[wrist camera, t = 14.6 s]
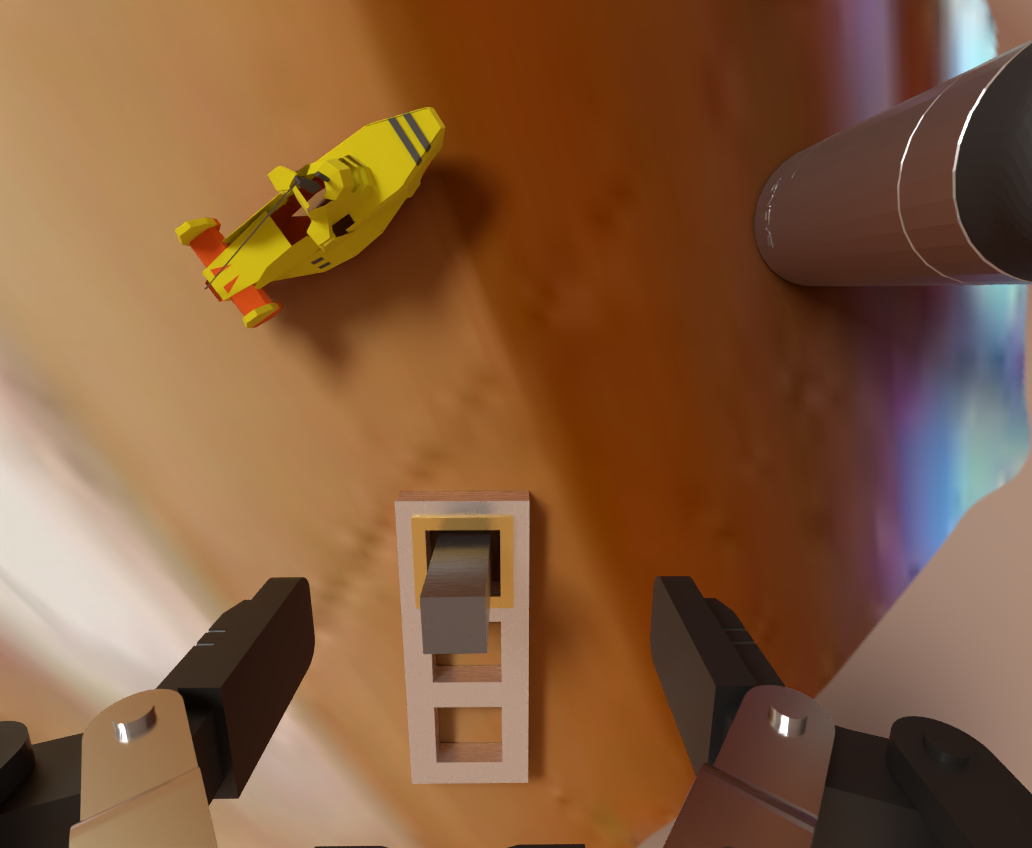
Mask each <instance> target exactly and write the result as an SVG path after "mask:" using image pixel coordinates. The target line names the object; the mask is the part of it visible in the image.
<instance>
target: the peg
mask: <svg viewBox="0 0 1032 848" xmlns="http://www.w3.org/2000/svg"><path fill="white" fill-rule="evenodd" d="M491 585H492V536H491V530H440V531H439V535H438V538H437V541H436V545H435V548H434V551H433V555H432V558H431V561H430V565H429V568H428V571H427V575H426V578H425V581H424V585H423V588H422V591H421V595H420V611H421V626H422V642H423V654H466V653H487V644H488V629H489V615H490V600H491Z"/></svg>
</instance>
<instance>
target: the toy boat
mask: <svg viewBox="0 0 1032 848" xmlns="http://www.w3.org/2000/svg"><path fill="white" fill-rule="evenodd" d="M444 134H445V126H444V124H443V123H442V121H441V119H440V118H439V116H438V115H437V113H436V111H435V110H434V108H430V107H425V108H422V109H418V110H415V111H412V112H407V113H403V114H401V115H398V116H393V117H389V118H387V119H384V120H381V121H377V122H374V123H370V124H367V125H366V126H364V127H363V128H361V129H360V130H359V131H357V132H356V133H355V134H353V135H352V136H350V137H349V138H348V139H346V140H345V141H343V142H342V143H341V144H339V145H338V146H337V147H335V148H334V149H332V150H331V151H330V152H328V153H327V154H326V155H324V156H323V157H321V158H320V159H319V160H317V161H316V162H315V163H313V164H308V165H305V166H304V167H303V168H301V169H300V170H298V171H296V172H294V171H292V170H290V169H288V168H286V167H284V166H278V167H277V168H275V169H274V170H273V171H271V172H270V173H269V174H267V175H268V176H269V178H270V180H271V182H272V183H273V185H274V187H275V188H276V190H277V191H279V192H280V193H279V194H278V195H277V196H276V197H274V198H273V199H272V200H271V201H270V202H268V203H267V204H266V205H265V206H264V207H262V208H261V209H260V210H259V211H258V212H256V213H255V214H254V215H253V216H252V217H250V218H249V219H248V220H247V221H246V222H244V223H243V224H242V225H241V226H240V227H239V228H237V229H236V230H235V231H234V232H233V233H231V234H230V235H229V236H228V237H227V238H224V237H223V235H222V234H221V233H220V232H219V229H220V226H221V224H220V223H219V222H218V220H217V219H212V218H200V219H195V220H190V221H186V222H185V223H184V224H182V225H181V226H180V227H179V228H177V229H176V230H175V232H176V235H177V237H178V240H179V241H180V242H181V243H182V245H187V246H191V248H192V249H193V250H194V252H195V253H196V254H197V256H198V257H199V258H200V260H201V261H202V262H203V264H204V265H205V266H206V269H205V270H204V271H203V272H202V273H203V275H204V276H205V277H206V279H207V281H206V283H205V284H206V285H207V287H206V288H205V289H207V288H208V287H209V289H210V290H211V291H212V293H213V294H214V295H215V296H216V298H217V299H218V300H219V302H221V301H229V300H232V301H233V303H234V304H235V305H236V306H237V308H238V309H239V310H240V311H241V313H242V314H243V315H244V317H243V324H244V325H245V326H246V328H255V327H257V326H259V325H261V324H262V323H264V322H266V321H268V320H269V319H271V318H272V317H273V316H275V315H276V314H277V313H279V312H280V310H281V309H282V306H281V304H280V303H279V302H275V303H272V301H271V300H270V298H269V297H268V295H267V294H266V292H265V291H264V289H263V288H262V287H264V286H265V285H267V284H268V283H270V282H271V281H277V280H282V279H288V278H293V277H299V276H304V275H310V274H315V273H321V272H325V271H327V270H329V269H331V268H333V267H335V266H337V265H339V264H341V263H343V262H345V261H347V260H349V259H351V258H353V257H355V256H356V255H358V254H359V253H360V252H361V251H362V250H363V249H364V248H366V247H367V246H368V245H369V244H370V243H371V242H373V241H374V240H375V239H376V238H377V237H378V236H379V235H381V234H382V233H383V232H384V230H385V229H386V227H387V226H388V224H389V223H390V221H391V220H392V219H393V217H394V216H395V214H396V213H397V211H398V210H399V208H400V207H401V205H402V204H403V203H404V201H405V200H406V198H410V197H412V196H413V194H414V193H415V191H416V190H417V188H418V187H419V185H420V184H421V178H422V177H423V175H424V173H425V172H426V170H427V169H428V167H429V166H430V164H431V162H432V160H433V158H434V157H435V156H436V155H437V153H438V152H439V151H440V150H441V148H442V144H443V139H444ZM404 182H405V183H404ZM325 187H326V190H327V192H326V193H325V195H324V197H323V198H326V199H330V200H334V201H330V202H329V203H328V204H326V205H324V206H322V207H319V208H316V209H313V210H312V211H311V212H310V213H308V212H307V208H308V207H309V204H308V203H307V201H308V200H309V199H310V198H312V197H313V196H314V195H315V194H316V193H317V192H319V191H320V190H322V189H324V188H325ZM301 207H303V209H304V210H305V212H306V213H307V214H308V216H309V217H310V218H309V217H308V216H297V217H291V216H292V215H293V214H294V213H295V212H296V211H297V210H299V209H300V208H301ZM347 214H349V215H350V216H351V218H352V219H353V221H354V222H355V223H354V224H353V225H351V226H350V227H349V228H348V229H346V231H348V232H347V233H345V234H344V235H343V236H340V237H336V236H335V234H334V233H333V230H332V225H334V224H335V223H337V222H338V221H339V220H341V219H342V218H343V217H345V216H346V215H347ZM310 219H311V220H310Z"/></svg>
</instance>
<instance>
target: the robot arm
mask: <svg viewBox="0 0 1032 848" xmlns="http://www.w3.org/2000/svg"><path fill="white" fill-rule="evenodd" d="M754 232H755V237H756V242H757V246H758V249H759V251H760V253H761V255H762V258H763V259H764V261H765V262H766V263H767V265H768V266H769V267H770V269H771V270H772V271H774V272H775V273H776V274H777V275H779V276H780V277H781V278H783V279H785V280H787V281H789V282H791V283H793V284H798V285H803V286H933V285H993V284H1032V40H1030V41H1029V42H1026V43H1024V44H1022V45H1020V46H1018V47H1016V48H1014V49H1012V50H1010V51H1007V52H1006V53H1003V54H1001V55H999V56H997V57H995V58H993V59H991V60H989V61H987V62H985V63H983V64H981V65H979V66H977V67H975V68H973V69H971V70H969V71H967V72H965V73H963V74H960V75H958V76H956V77H954V78H952V79H950V80H948V81H946V82H944V83H942V84H940V85H938V86H935V87H933V88H931V89H929V90H927V91H925V92H923V93H921V94H919V95H917V96H915V97H913V98H910V99H908V100H906V101H904V102H902V103H900V104H898V105H896V106H894V107H892V108H890V109H888V110H885V111H883V112H881V113H879V114H877V115H875V116H873V117H871V118H869V119H867V120H865V121H863V122H860V123H858V124H856V125H854V126H852V127H850V128H848V129H846V130H844V131H842V132H840V133H837V134H835V135H833V136H831V137H829V138H827V139H825V140H823V141H821V142H819V143H817V144H815V145H812V146H810V147H808V148H806V149H804V150H802V151H800V152H798V153H796V154H795V155H793V156H792V157H790V158H789V159H788V160H786V161H785V162H783V163H782V164H781V165H780V167H779V168H778V169H777V170H776V171H775V172H774V173H773V174H772V175H771V177H770V178H769V180H768V181H767V183H766V185H765V186H764V188H763V190H762V193H761V195H760V198H759V200H758V203H757V208H756V213H755V230H754ZM650 643H651V653H652V659H653V663H654V666H655V669H656V671H657V674H658V677H659V679H660V682H661V684H662V687H663V690H664V692H665V695H666V698H667V700H668V703H669V706H670V708H671V711H672V713H673V716H674V719H675V721H676V724H677V727H678V729H679V732H680V735H681V737H682V740H683V742H684V745H685V748H686V750H687V753H688V756H689V758H690V761H691V764H692V766H693V769H694V771H695V774H696V779H695V781H694V783H693V785H692V787H691V789H690V791H689V794H688V796H687V798H686V800H685V802H684V804H683V806H682V808H681V810H680V813H679V815H678V817H677V819H676V821H675V823H674V825H673V827H672V829H671V832H670V834H669V836H668V838H667V840H666V842H665V845H664V846H663V848H1032V794H1031V793H1030V792H1029V791H1028V790H1027V789H1026V788H1025V787H1024V786H1023V785H1022V784H1021V782H1019V780H1018V779H1017V778H1015V776H1014V775H1013V774H1012V773H1011V772H1010V771H1009V770H1008V769H1007V768H1006V767H1005V766H1004V765H1003V764H1002V763H1001V762H1000V761H999V760H998V759H997V758H996V757H995V756H994V755H993V753H991V752H990V751H989V750H988V749H987V748H986V747H985V746H984V745H983V744H981V743H980V742H979V741H977V740H976V739H974V738H973V737H971V736H970V735H968V734H966V733H965V732H963V731H961V730H959V729H957V728H955V727H953V726H951V725H949V724H946V723H943V722H941V721H937V720H934V719H930V718H925V717H917V716H908V717H903V718H900V719H898V720H897V721H895V722H894V723H893V725H892V727H891V732H890V737H889V739H887V738H883V737H879V736H874V735H870V734H866V733H862V732H857V731H853V730H849V729H845V728H842V727H839V726H836V725H834V723H833V720H832V718H831V717H830V715H829V714H828V713H827V711H826V710H825V709H824V708H823V707H822V706H821V705H819V704H818V703H817V702H816V701H814V700H813V699H811V698H810V697H808V696H806V695H805V694H803V693H801V692H798V691H796V690H793V689H790V688H787V687H785V685H784V684H783V682H782V681H781V679H780V678H779V676H778V675H777V674H776V672H775V671H774V669H773V668H772V666H771V665H770V663H769V662H768V661H767V659H766V658H765V656H764V655H763V653H762V652H761V650H760V649H759V648H758V646H757V645H756V644H754V640H753V639H752V637H751V636H750V634H749V633H748V632H747V631H745V627H744V626H743V624H742V623H741V621H740V620H739V619H738V617H737V616H736V614H735V613H734V612H733V611H732V610H731V609H729V608H728V607H727V606H725V605H724V604H722V603H721V602H720V601H718V600H717V599H716V598H704V597H703V596H702V594H701V593H700V591H699V589H698V588H697V586H696V585H695V583H694V581H693V580H692V578H691V577H689V576H657V577H656V579H655V582H654V590H653V605H652V619H651V634H650ZM314 646H315V634H314V625H313V616H312V606H311V597H310V588H309V583H308V581H307V579H306V578H304V577H281V578H270V579H269V580H268V581H267V582H266V583H265V584H264V585H263V587H262V588H261V589H260V590H259V591H258V593H257V594H256V595H255V596H254V597H253V599H252V600H243V601H242V602H240V603H239V604H237V605H236V606H234V607H232V608H231V609H229V610H228V611H226V612H225V613H223V614H222V615H221V616H220V617H219V619H218V620H217V621H216V622H215V623H214V624H213V625H212V626H211V627H210V629H209V632H208V633H205V634H204V635H203V636H202V638H201V639H200V640H199V641H198V642H197V646H194V647H193V648H192V649H191V650H190V651H189V652H188V653H187V654H186V655H185V657H184V658H183V659H182V660H181V661H180V662H179V663H178V664H177V666H176V667H175V668H174V669H173V670H172V671H171V672H170V673H169V675H168V676H167V677H166V678H165V679H164V680H163V681H162V682H161V684H160V685H159V686H158V687H157V688H156V689H154V690H148V691H143V692H140V693H137V694H133V695H131V696H128V697H126V698H124V699H122V700H120V701H118V702H116V703H114V704H113V705H111V706H109V707H108V708H106V709H105V710H104V711H102V712H101V713H100V714H99V715H97V716H96V717H95V718H94V719H93V720H92V721H91V722H90V723H89V725H88V726H87V728H86V729H85V731H84V733H81V734H77V735H72V736H68V737H64V738H60V739H55V740H51V741H47V742H42V743H38V744H34V745H32V744H31V741H30V737H29V733H28V730H27V727H26V726H25V725H24V724H22V723H20V722H16V721H1V722H0V848H218V846H217V841H216V837H215V832H214V828H213V824H212V819H211V815H210V810H209V805H210V803H211V802H212V800H213V799H238V798H239V797H240V795H241V793H242V791H243V789H244V787H245V785H246V783H247V782H248V780H249V778H250V776H251V774H252V772H253V770H254V769H255V767H256V765H257V763H258V761H259V759H260V757H261V756H262V754H263V752H264V750H265V748H266V746H267V744H268V743H269V741H270V739H271V737H272V735H273V733H274V731H275V730H276V728H277V726H278V724H279V722H280V720H281V718H282V717H283V715H284V713H285V711H286V709H287V707H288V705H289V703H290V702H291V700H292V698H293V696H294V694H295V692H296V690H297V689H298V687H299V685H300V683H301V681H302V679H303V677H304V676H305V674H306V672H307V670H308V668H309V666H310V664H311V661H312V657H313V653H314ZM315 848H387V847H383V846H323V847H315ZM509 848H585V844H550V845H516V846H512V847H509Z"/></svg>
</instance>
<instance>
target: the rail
mask: <svg viewBox="0 0 1032 848" xmlns="http://www.w3.org/2000/svg"><path fill="white" fill-rule="evenodd" d="M529 510H530V500H529V491H400V493H399V495H398V496H397V498H396V500H395V514H396V530H397V547H398V563H399V580H400V596H401V613H402V629H403V645H404V662H405V678H406V695H407V711H408V727H409V744H410V760H411V777H412V784H427V783H528V703H529ZM430 530H500V573H501V581H492V585H491V600H490V615H489V622H501V665H478V666H436V654H423V642H422V626H421V611H420V595H421V591H422V588H423V585H424V581H425V578H426V575H427V571H428V568H429V565H430V561H431V536H430ZM438 707H502V743H440V740H439V718H438Z"/></svg>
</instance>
